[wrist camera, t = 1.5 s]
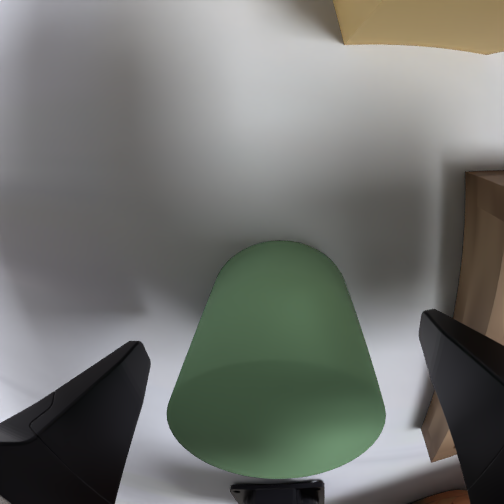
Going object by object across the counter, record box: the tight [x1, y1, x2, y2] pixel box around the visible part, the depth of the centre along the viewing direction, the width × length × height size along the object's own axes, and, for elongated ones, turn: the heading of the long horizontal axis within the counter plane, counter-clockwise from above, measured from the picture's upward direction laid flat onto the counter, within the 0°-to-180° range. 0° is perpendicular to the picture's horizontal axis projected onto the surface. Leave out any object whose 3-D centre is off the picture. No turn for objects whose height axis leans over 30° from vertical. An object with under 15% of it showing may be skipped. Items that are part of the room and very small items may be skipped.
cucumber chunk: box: [167, 241, 386, 479], centre depth 8 cm, size 5×5×6 cm
